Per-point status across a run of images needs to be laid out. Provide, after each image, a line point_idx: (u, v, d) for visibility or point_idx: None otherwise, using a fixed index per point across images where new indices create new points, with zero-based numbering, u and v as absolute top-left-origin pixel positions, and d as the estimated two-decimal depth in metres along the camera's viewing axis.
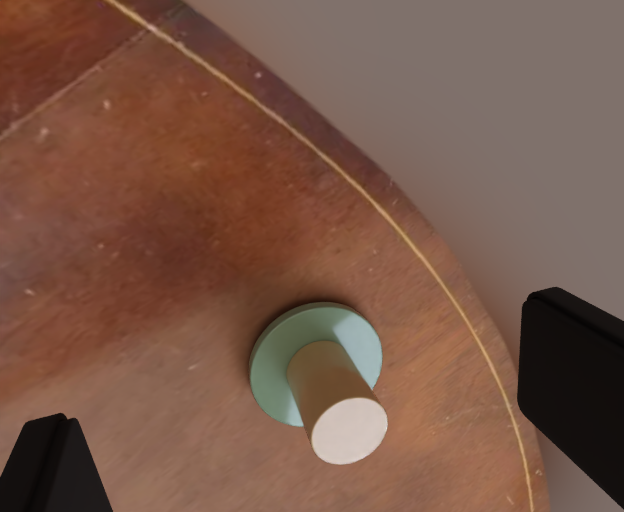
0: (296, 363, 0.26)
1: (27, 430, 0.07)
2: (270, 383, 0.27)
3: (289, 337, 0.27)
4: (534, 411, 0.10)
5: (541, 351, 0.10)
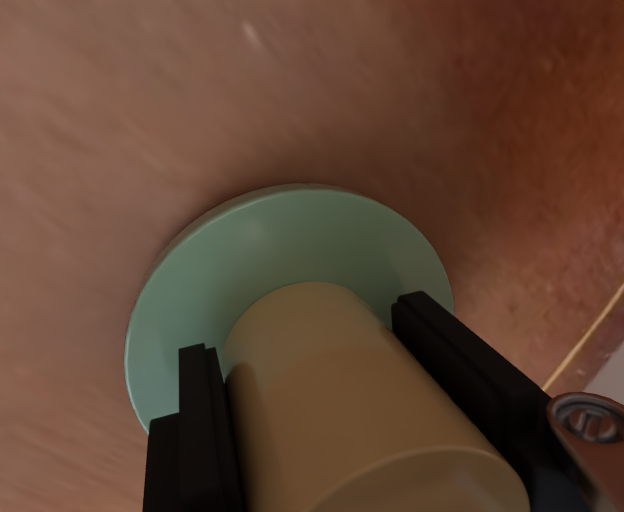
0: (355, 301, 0.10)
1: (183, 353, 0.09)
2: (262, 250, 0.10)
3: (390, 264, 0.11)
4: None
5: None
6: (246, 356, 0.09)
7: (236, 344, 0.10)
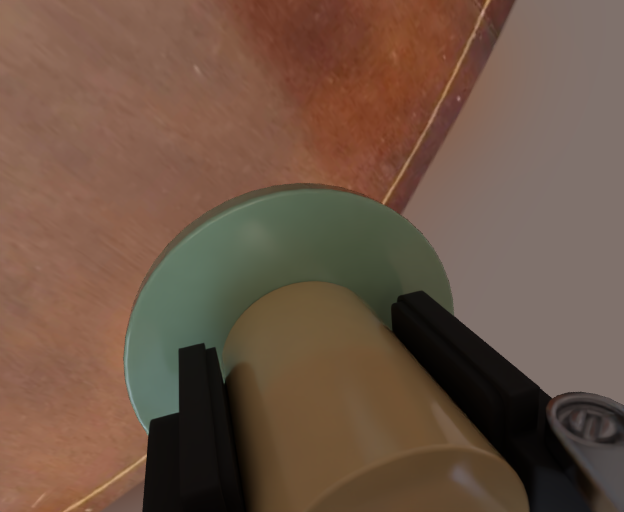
0: (354, 300, 0.10)
1: (183, 353, 0.09)
2: (262, 250, 0.10)
3: (390, 263, 0.11)
4: None
5: None
6: (245, 356, 0.09)
7: (236, 344, 0.10)
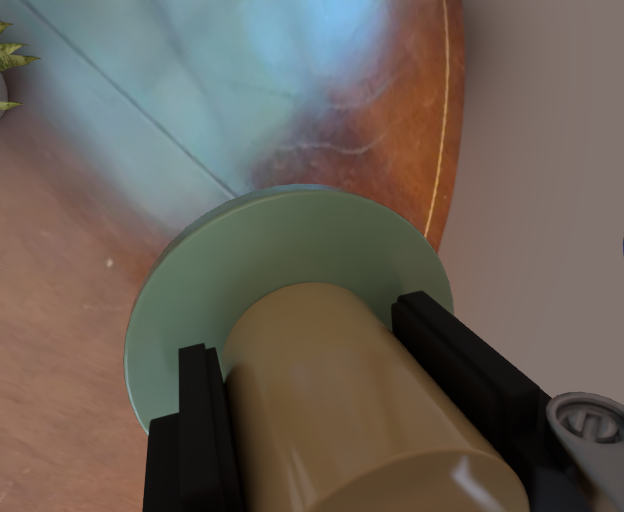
0: (355, 301, 0.10)
1: (183, 353, 0.09)
2: (262, 251, 0.10)
3: (390, 264, 0.11)
4: None
5: None
6: (245, 357, 0.09)
7: (236, 345, 0.10)
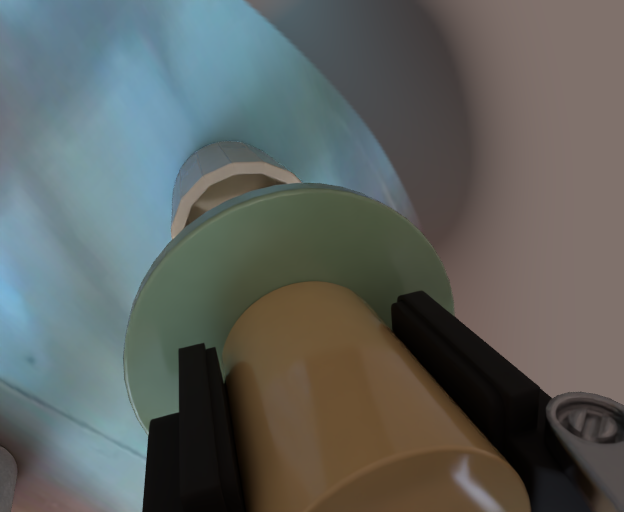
0: (355, 301, 0.10)
1: (183, 353, 0.09)
2: (262, 250, 0.10)
3: (390, 264, 0.11)
4: None
5: None
6: (246, 356, 0.09)
7: (236, 344, 0.10)
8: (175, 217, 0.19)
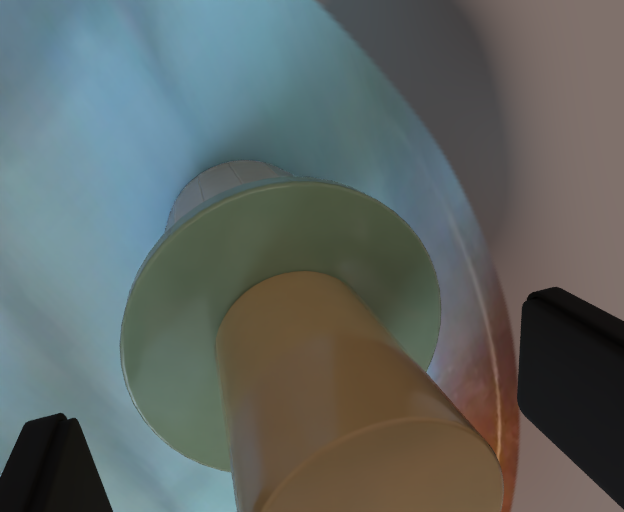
0: (343, 289, 0.11)
1: (27, 430, 0.07)
2: (254, 240, 0.11)
3: (378, 254, 0.12)
4: (534, 411, 0.10)
5: (541, 351, 0.10)
6: (237, 341, 0.09)
7: (228, 331, 0.10)
8: None
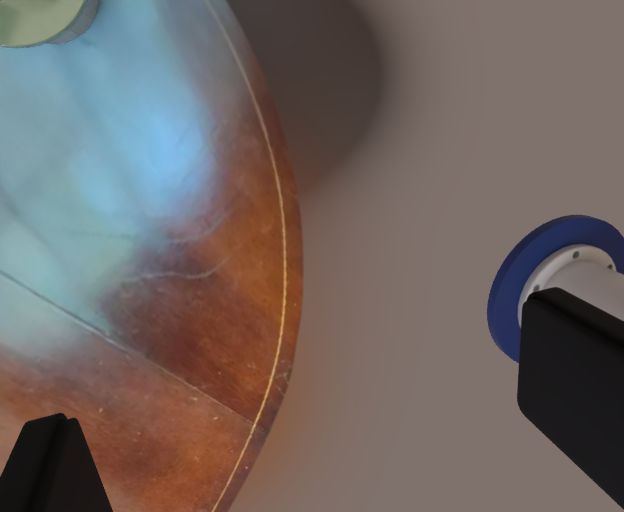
0: None
1: (27, 430, 0.07)
2: None
3: None
4: (534, 411, 0.10)
5: (541, 351, 0.10)
6: None
7: None
8: None
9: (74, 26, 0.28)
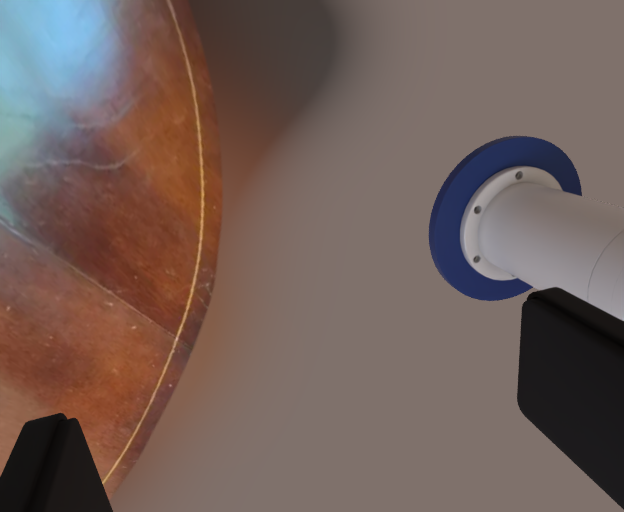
0: None
1: (27, 430, 0.07)
2: None
3: None
4: (534, 411, 0.10)
5: (541, 351, 0.10)
6: None
7: None
8: None
9: None
